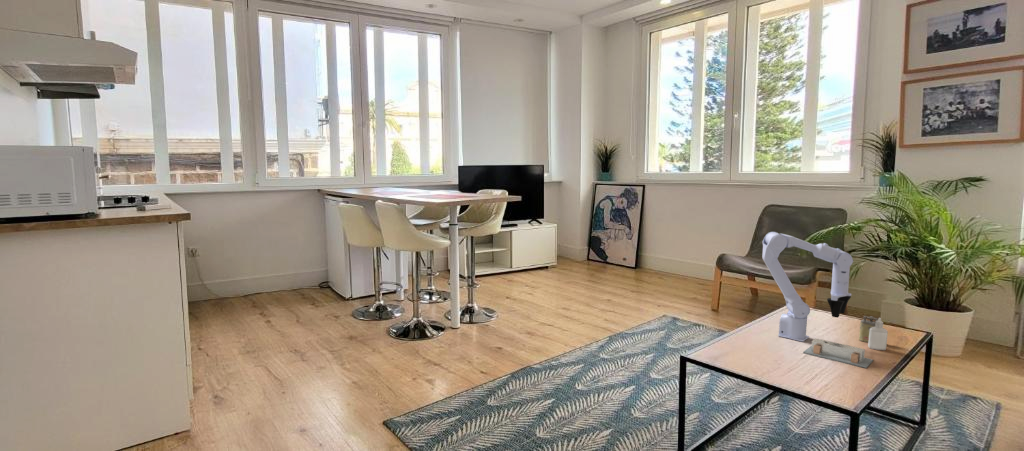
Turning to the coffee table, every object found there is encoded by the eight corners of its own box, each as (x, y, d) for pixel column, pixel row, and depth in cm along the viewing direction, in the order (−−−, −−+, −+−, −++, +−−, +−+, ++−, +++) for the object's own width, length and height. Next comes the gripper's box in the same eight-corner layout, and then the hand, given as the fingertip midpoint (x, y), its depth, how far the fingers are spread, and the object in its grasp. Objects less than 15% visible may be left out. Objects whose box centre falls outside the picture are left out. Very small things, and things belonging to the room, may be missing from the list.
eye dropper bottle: (883, 351, 199) (886, 321, 198) (866, 347, 204) (869, 317, 202) (887, 349, 202) (890, 318, 200) (870, 345, 206) (873, 315, 205)
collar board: (803, 353, 197) (803, 344, 197) (811, 346, 204) (812, 337, 204) (866, 368, 183) (867, 358, 183) (873, 360, 190) (874, 351, 190)
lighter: (880, 342, 209) (882, 318, 208) (879, 345, 207) (881, 320, 205) (859, 338, 214) (861, 314, 213) (857, 340, 211) (859, 316, 210)
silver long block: (863, 360, 190) (864, 348, 189) (861, 362, 187) (862, 351, 186) (814, 348, 201) (815, 338, 200) (811, 351, 198) (811, 340, 198)
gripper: (846, 286, 201) (844, 320, 203) (856, 279, 211) (854, 313, 213) (826, 283, 206) (823, 317, 208) (836, 277, 216) (834, 309, 218)
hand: (838, 314), depth 211 cm, fingers open, 7 cm apart
